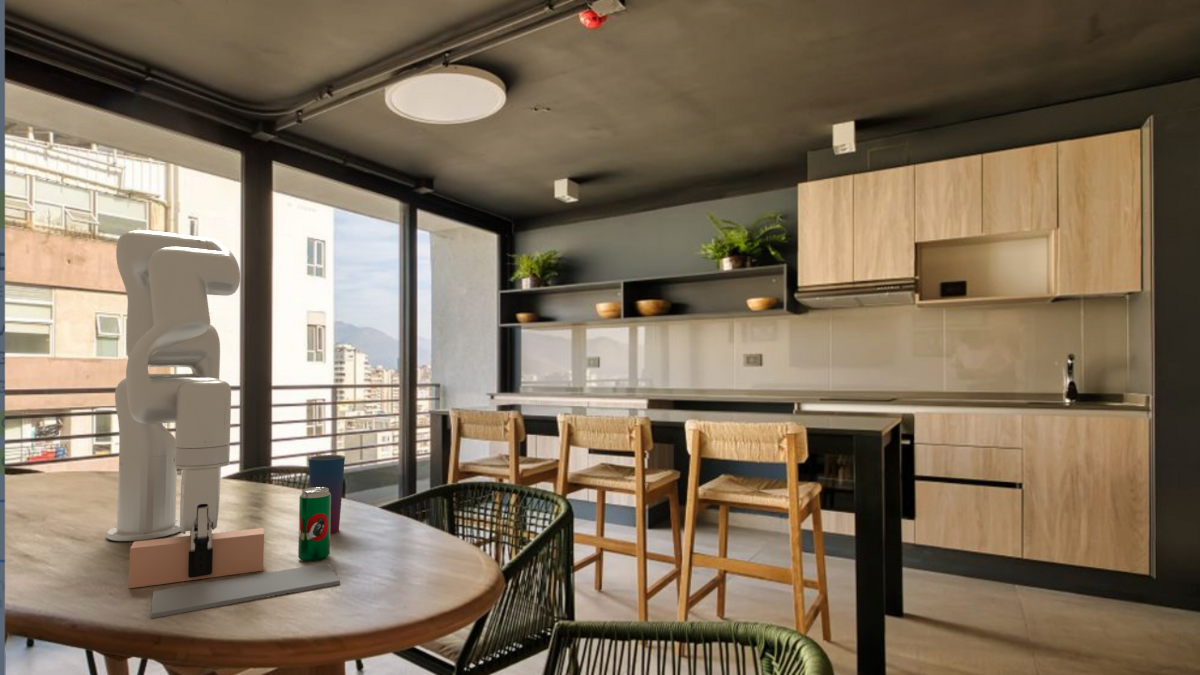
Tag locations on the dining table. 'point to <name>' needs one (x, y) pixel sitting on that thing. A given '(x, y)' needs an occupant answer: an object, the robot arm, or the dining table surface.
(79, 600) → the dining table surface
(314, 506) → the soda can
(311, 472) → the cup
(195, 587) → the mat
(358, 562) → the dining table surface
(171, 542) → the peach wooden plank
